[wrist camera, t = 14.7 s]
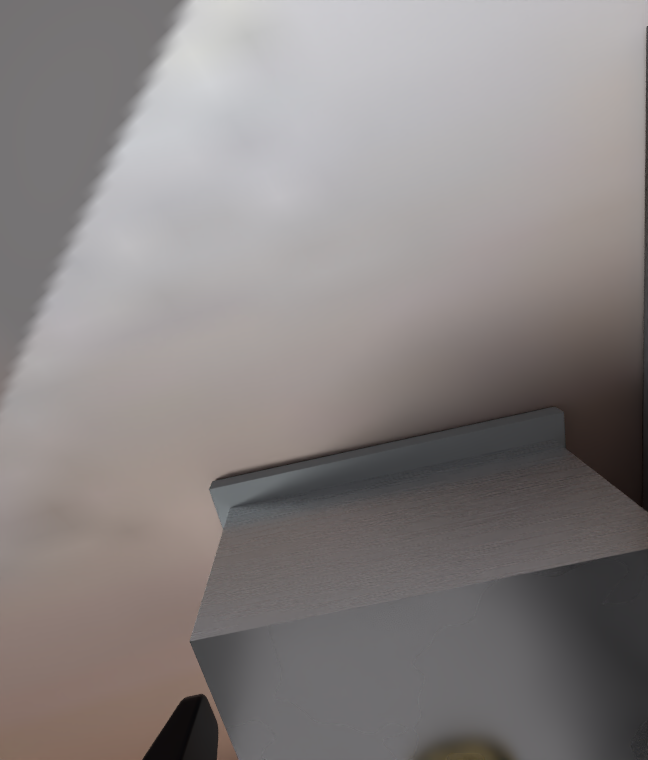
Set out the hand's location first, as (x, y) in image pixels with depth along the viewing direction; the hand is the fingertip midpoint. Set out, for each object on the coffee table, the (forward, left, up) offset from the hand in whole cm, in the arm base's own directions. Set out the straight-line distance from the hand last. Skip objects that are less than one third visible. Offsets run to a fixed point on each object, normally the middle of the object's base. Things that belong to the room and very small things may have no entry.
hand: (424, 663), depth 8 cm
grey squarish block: (0, 0, -1) cm, 1 cm away
